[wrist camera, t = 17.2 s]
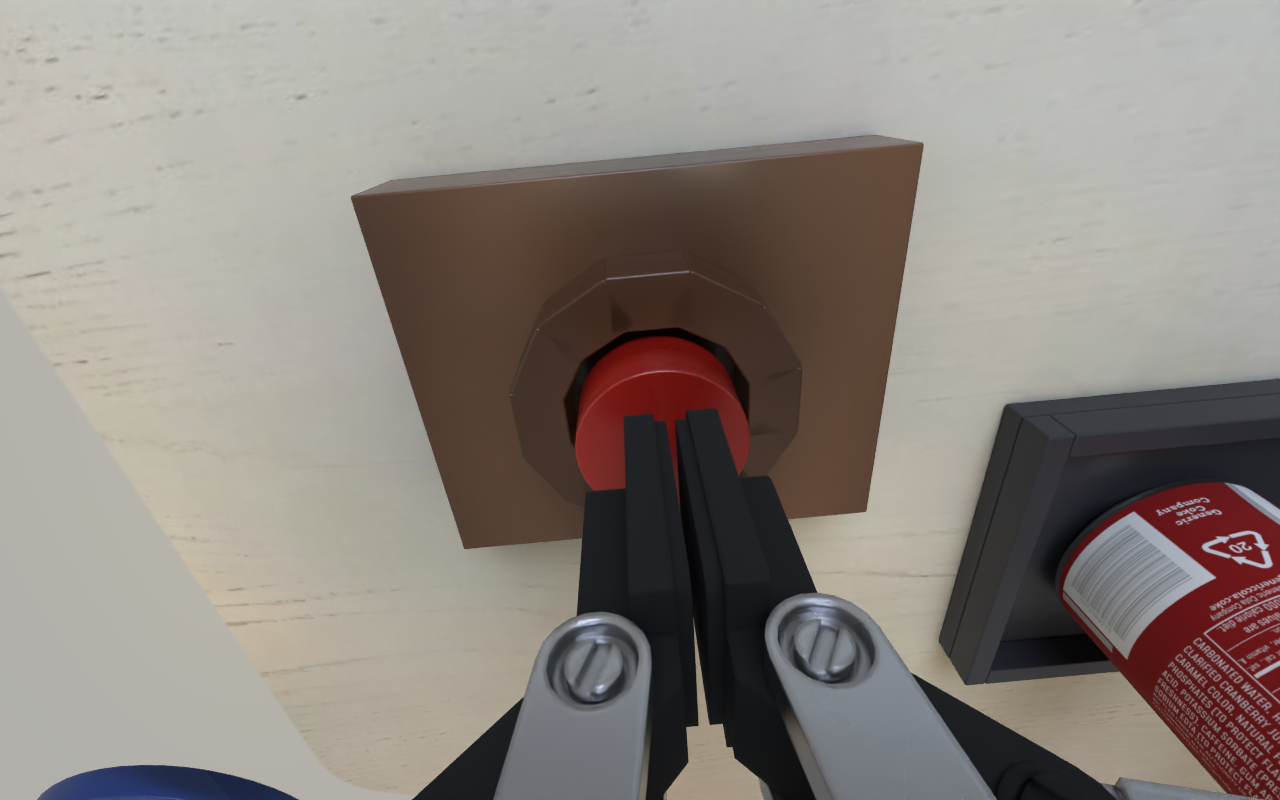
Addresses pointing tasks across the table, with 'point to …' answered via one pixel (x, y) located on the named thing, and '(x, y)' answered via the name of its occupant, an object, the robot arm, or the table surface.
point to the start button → (651, 403)
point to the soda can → (1191, 618)
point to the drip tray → (1086, 509)
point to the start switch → (646, 310)
